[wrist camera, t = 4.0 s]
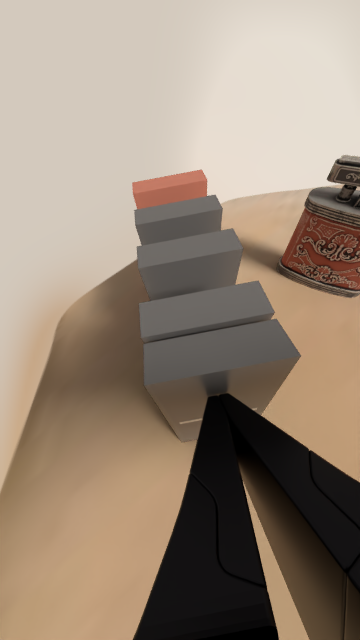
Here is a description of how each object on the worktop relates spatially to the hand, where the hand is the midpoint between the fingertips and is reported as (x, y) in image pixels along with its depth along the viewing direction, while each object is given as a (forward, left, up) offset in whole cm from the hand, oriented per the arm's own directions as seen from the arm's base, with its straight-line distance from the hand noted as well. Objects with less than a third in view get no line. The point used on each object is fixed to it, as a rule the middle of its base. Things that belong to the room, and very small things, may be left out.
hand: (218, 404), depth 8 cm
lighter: (+6, -17, -8) cm, 20 cm away
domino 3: (+6, -3, -8) cm, 10 cm away
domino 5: (0, 0, -8) cm, 8 cm away
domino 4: (+3, -1, -8) cm, 8 cm away
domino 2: (+10, -4, -8) cm, 13 cm away
